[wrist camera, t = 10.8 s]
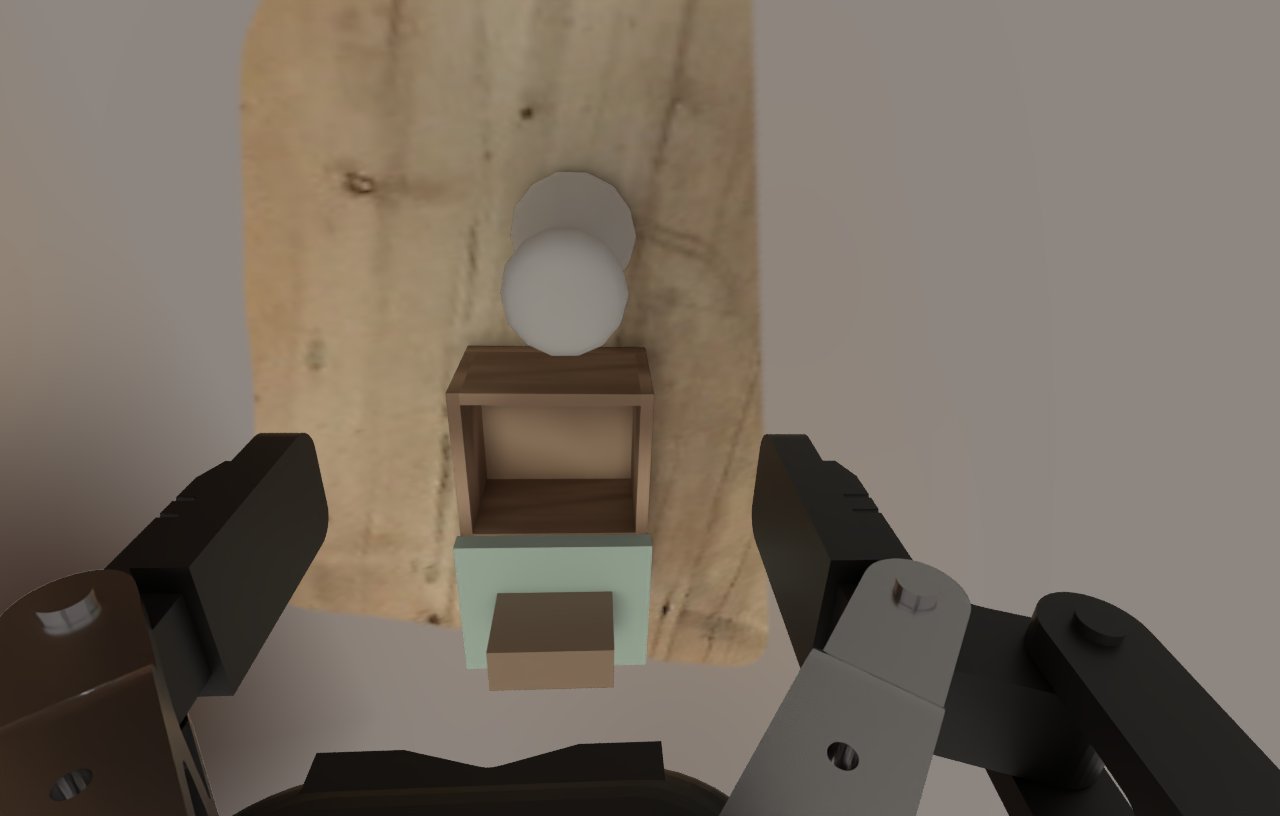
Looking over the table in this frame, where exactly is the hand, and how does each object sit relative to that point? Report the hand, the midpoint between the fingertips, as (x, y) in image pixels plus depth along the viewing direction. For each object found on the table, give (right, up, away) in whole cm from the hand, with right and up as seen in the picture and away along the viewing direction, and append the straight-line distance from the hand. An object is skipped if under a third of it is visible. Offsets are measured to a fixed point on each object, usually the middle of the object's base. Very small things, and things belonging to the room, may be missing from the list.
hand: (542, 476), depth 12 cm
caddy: (-3, -3, +27) cm, 28 cm away
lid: (-3, -9, +24) cm, 26 cm away
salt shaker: (-1, +10, +21) cm, 24 cm away
